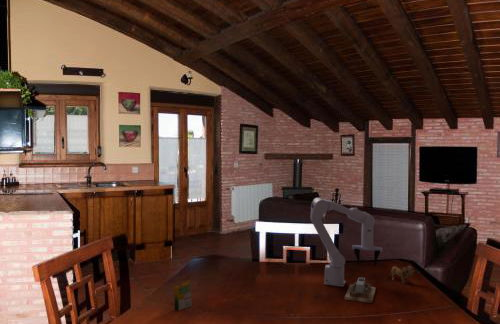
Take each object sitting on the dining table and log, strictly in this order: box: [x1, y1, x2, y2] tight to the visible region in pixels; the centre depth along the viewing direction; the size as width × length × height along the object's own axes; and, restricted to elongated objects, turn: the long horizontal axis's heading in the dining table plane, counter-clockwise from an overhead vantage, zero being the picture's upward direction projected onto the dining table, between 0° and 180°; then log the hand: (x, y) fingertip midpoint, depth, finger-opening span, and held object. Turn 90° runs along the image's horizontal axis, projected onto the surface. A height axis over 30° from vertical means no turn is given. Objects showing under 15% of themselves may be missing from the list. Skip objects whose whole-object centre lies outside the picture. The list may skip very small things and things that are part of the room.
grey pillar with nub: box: [356, 276, 366, 293], centre depth 196 cm, size 3×10×6 cm, turn 159°
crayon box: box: [173, 279, 192, 312], centre depth 180 cm, size 7×3×12 cm, turn 141°
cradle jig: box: [344, 281, 377, 304], centre depth 197 cm, size 12×18×3 cm, turn 159°
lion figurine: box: [387, 265, 415, 284], centre depth 216 cm, size 15×5×9 cm, turn 39°
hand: (366, 264), depth 212 cm, fingers open, 7 cm apart
